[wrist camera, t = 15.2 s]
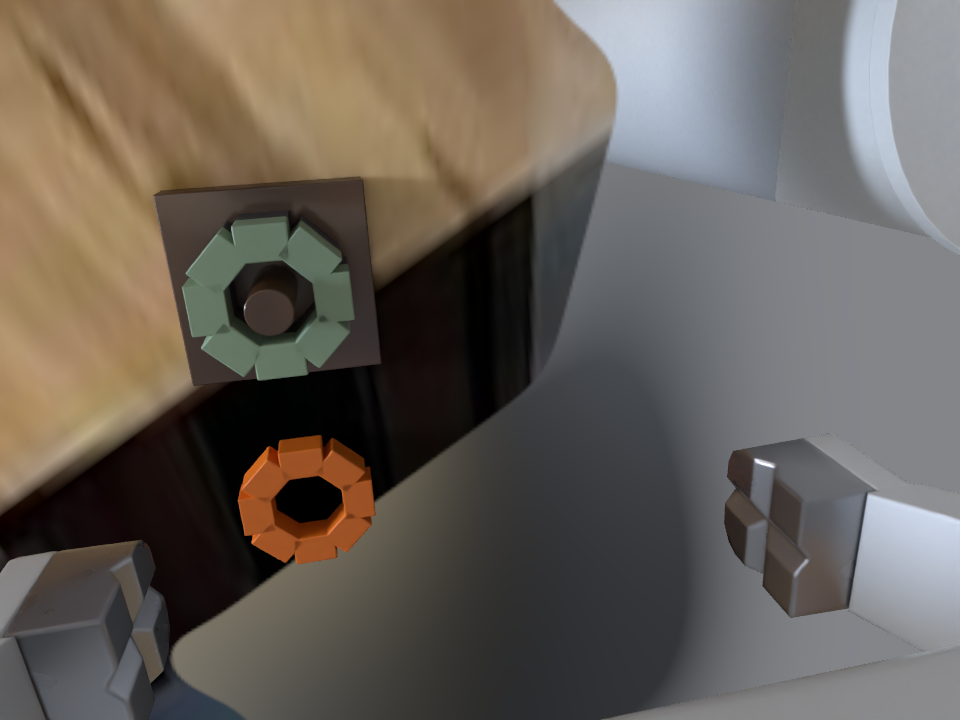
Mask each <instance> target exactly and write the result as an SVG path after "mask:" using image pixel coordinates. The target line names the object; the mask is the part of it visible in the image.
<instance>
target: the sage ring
mask: <svg viewBox="0 0 960 720" xmlns="http://www.w3.org/2000/svg"><path fill="white" fill-rule="evenodd" d="M231 231H232V233H231V232H229V231H228V230H227V229H225V228H224V227H222V228H221V229H220V230H219V231H218V233H217V234H216V235H215V236H214V238H213V239H212V240H211V242H210V243H209V244H208V245H207V247H206V248H205V249H204V250H203V252H202V253H201V254H200V255H199V257H198V258H197V259H196V260H195V262H194V263H193V264H192V265H191V267H190V268H189V269H188V271H187V272H186V275H187V276H189V277H190V278H189V279H188V280H187V282H186V283H185V284H184V286H183V287H182V290H183V295H184V299H185V304H186V309H187V314H188V319H189V324H190V329H191V334H192V337H202V336H206V338H205V341H204V343H203V345H202V347H201V349H202V350H204V351H205V352H207V353H208V354H210V355H211V356H213V357H214V358H216V359H217V360H219V361H220V362H222V363H223V364H225V365H226V366H228V367H229V368H231V369H232V370H234V371H235V372H237V373H238V374H240V375H241V376H243V377H245V376H246V375H247V374H248V373H249V371H250V370H251V369H252V368H253V367H254V365H255V369H256V375H257V379H258V380H268V379H276V378H285V377H293V376H302V375H307V374H308V369H309V361H310V362H311V363H313V364H314V365H316V366H317V367H319V368H320V367H322V366H323V364H324V363H325V362H326V361H327V360H328V359H329V357H330V356H331V355H332V354H333V353H334V352H335V350H336V349H337V348H338V347H339V346H340V344H341V343H342V342H343V341H344V340H345V339H346V337H347V336H348V335H349V334H350V325H349V321H350V320H354V319H355V316H354V307H353V298H352V290H351V281H350V273H349V267H348V264H339V263H340V262H341V261H342V255H341V251H339V250H338V249H337V248H336V247H334V246H333V245H332V244H331V243H329V242H328V241H327V240H326V239H324V238H323V237H322V236H321V235H319V234H318V233H317V232H315V231H314V230H313V229H312V228H310V227H309V226H308V225H307V224H305V223H304V222H303V221H300V222H299V223H298V224H297V226H296V227H295V228H294V229H293V231H292V232H291V233H290V228H289V221H288V217H286V216H282V217H270V218H257V219H245V220H236V221H235V222H234V223H233V225H232V226H231ZM273 261H284V262H285V263H287V264H288V265H289V266H291V267H292V268H293V269H295V270H296V271H297V272H299V273H300V274H301V275H303V276H304V277H305V278H307V279H308V280H309V281H310V282H312V284H313V292H314V299H315V306H316V309H315V310H314V311H313V312H312V314H311V315H310V316H309V317H308V318H307V320H306V321H305V322H304V323H303V324H302V326H301V327H300V328H299V329H298V330H297V332H289V333H281V334H278V335H274V336H266V335H261V334H259V333H257V332H255V331H254V330H253V329H251V328H250V326H248V325H247V324H245V323H244V322H243V321H241V320H240V319H238V318H237V317H236V316H234V311H233V305H232V300H231V294H230V289H229V285H230V283H231V282H232V281H233V280H234V278H235V277H236V276H237V275H238V274H239V272H240V271H241V270H242V269H243V267H244V266H245V265H246V264H251V263H262V262H273Z"/></svg>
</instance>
